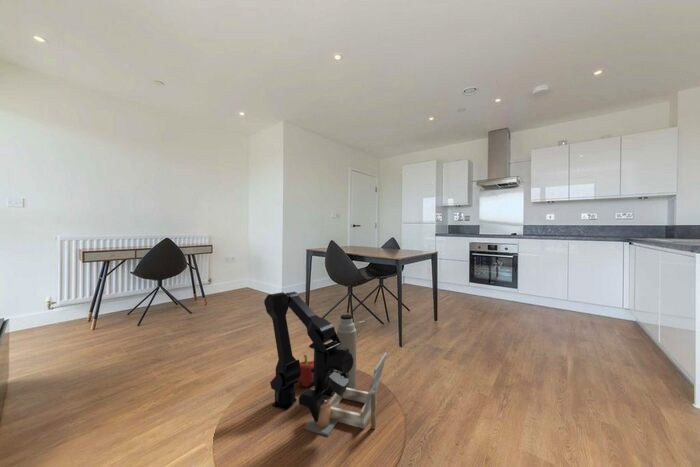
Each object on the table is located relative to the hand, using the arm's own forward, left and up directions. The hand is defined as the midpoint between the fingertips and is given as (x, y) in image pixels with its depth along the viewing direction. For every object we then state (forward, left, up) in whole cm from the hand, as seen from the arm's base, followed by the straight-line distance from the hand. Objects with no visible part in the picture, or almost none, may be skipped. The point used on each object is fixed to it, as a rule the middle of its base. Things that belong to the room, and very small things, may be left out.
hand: (321, 415), depth 84 cm
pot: (0, +1, -3) cm, 3 cm away
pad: (0, +1, -3) cm, 3 cm away
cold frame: (+8, +11, -3) cm, 14 cm away
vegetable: (-18, +21, -4) cm, 28 cm away
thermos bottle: (-2, +26, -4) cm, 26 cm away
